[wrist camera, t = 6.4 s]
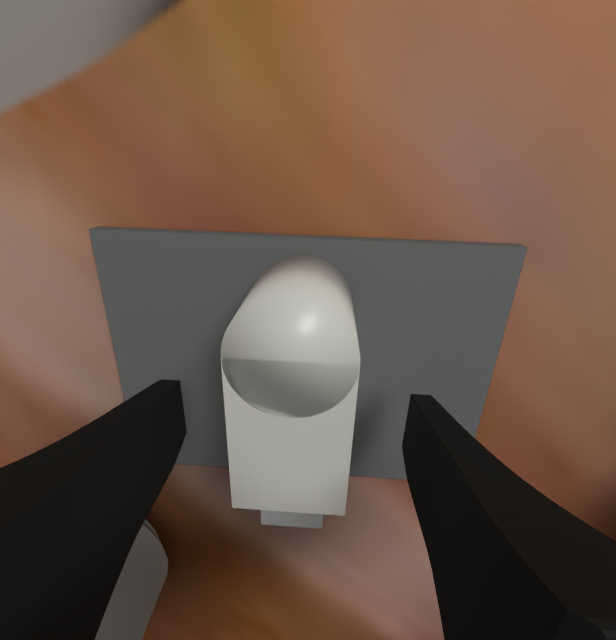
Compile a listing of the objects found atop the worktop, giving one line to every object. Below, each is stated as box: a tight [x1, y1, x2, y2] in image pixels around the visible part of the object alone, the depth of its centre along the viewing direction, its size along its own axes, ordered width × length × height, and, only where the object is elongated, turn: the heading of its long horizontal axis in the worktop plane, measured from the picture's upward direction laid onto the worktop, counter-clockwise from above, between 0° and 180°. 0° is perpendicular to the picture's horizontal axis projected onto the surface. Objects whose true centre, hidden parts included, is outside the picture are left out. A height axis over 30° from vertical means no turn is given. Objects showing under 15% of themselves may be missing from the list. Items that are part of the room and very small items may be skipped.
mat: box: [89, 227, 527, 479], centre depth 14 cm, size 14×10×1 cm
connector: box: [221, 254, 360, 529], centre depth 12 cm, size 9×3×4 cm, turn 178°
